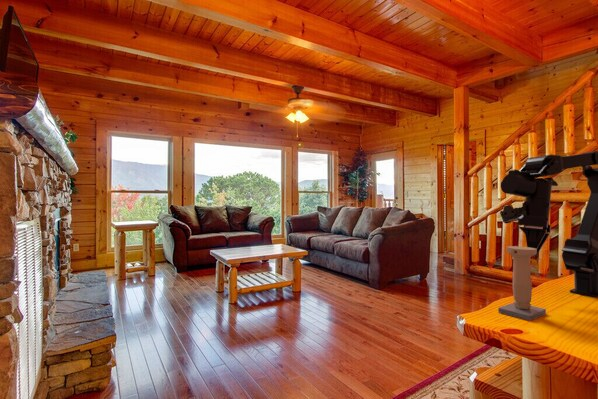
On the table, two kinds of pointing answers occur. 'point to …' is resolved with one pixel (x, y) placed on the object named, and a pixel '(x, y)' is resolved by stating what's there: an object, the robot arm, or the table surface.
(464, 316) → the table surface
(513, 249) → the handle
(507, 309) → the plate
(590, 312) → the table surface
